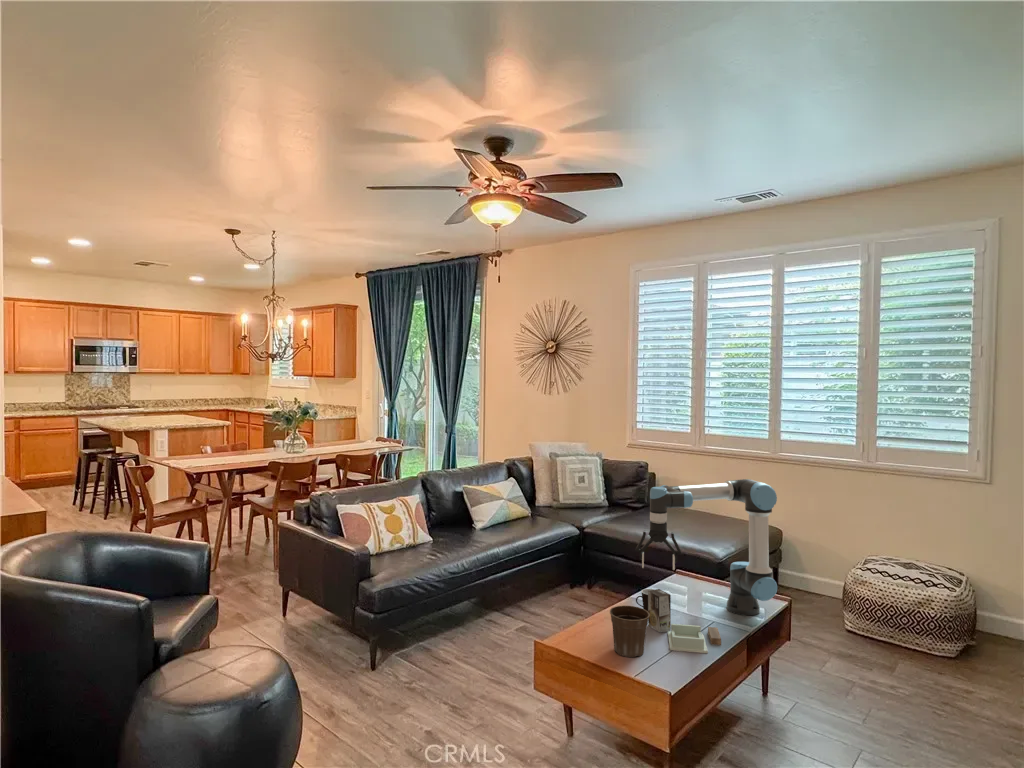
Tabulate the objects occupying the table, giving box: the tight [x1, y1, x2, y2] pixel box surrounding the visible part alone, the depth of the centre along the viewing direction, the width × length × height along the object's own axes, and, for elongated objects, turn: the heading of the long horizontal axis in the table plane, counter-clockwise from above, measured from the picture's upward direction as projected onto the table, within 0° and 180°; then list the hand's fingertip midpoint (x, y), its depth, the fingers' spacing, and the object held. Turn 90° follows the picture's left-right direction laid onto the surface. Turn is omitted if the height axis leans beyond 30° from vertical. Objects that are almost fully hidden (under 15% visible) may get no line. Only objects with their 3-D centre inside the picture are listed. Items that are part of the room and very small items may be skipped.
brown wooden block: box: [707, 626, 722, 646], centre depth 263 cm, size 4×12×3 cm, turn 168°
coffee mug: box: [635, 588, 655, 611], centre depth 293 cm, size 12×9×10 cm
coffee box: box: [647, 588, 672, 633], centre depth 275 cm, size 9×6×16 cm
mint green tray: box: [667, 623, 709, 654], centre depth 259 cm, size 15×17×5 cm
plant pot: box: [609, 605, 650, 658], centre depth 251 cm, size 16×16×16 cm
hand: (658, 568), depth 275 cm, fingers open, 13 cm apart
